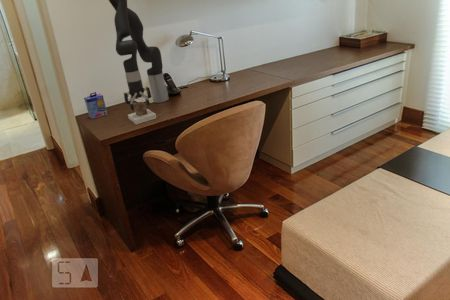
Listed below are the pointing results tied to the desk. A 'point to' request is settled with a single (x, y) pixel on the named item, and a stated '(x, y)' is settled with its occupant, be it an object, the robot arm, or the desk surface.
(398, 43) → the desk surface
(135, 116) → the riser
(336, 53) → the desk surface
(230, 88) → the desk surface
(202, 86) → the desk surface
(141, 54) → the robot arm
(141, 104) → the block
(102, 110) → the ink cartridge box
